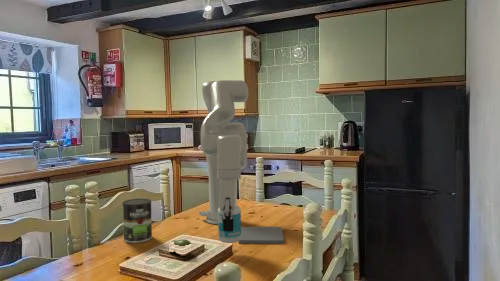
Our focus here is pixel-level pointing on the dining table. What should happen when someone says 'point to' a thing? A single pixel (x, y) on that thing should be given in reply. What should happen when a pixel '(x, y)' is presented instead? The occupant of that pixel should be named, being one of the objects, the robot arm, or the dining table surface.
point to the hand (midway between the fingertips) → (229, 226)
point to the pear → (181, 242)
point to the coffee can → (137, 220)
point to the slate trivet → (261, 235)
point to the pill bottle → (236, 233)
